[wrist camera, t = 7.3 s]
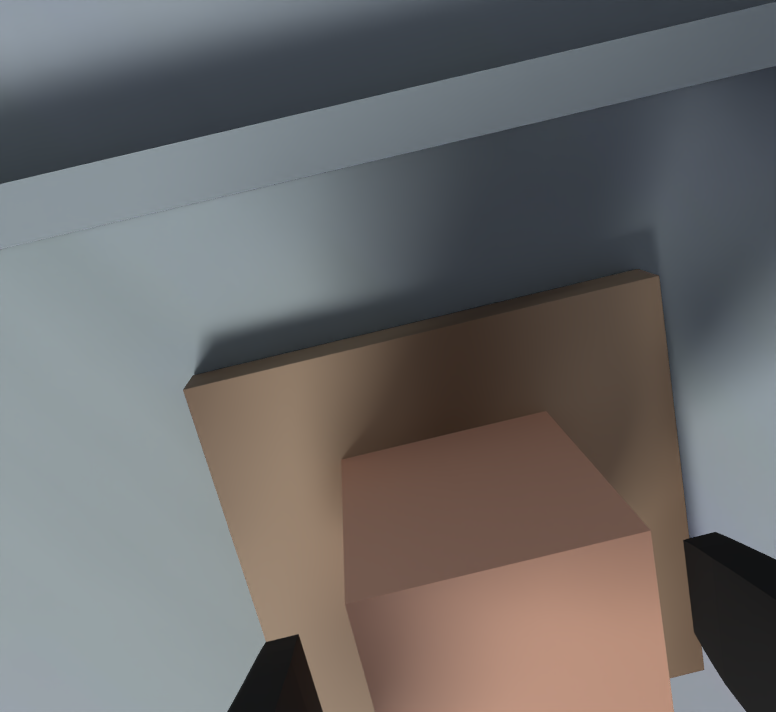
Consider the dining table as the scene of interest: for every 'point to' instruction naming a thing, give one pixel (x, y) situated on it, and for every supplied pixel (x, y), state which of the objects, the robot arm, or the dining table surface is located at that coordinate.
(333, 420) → the walnut pad
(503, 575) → the terracotta block
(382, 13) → the dining table surface
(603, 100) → the low wall
